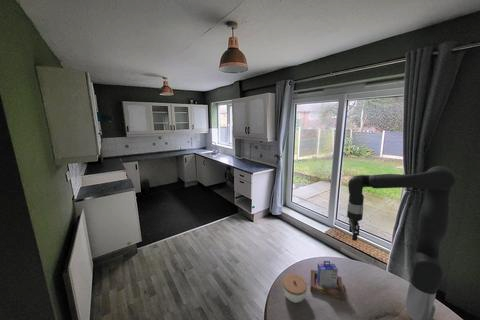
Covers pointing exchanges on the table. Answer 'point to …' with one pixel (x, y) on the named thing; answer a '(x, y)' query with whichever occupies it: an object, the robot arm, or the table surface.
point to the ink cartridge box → (327, 275)
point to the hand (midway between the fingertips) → (352, 236)
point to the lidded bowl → (294, 288)
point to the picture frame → (330, 292)
